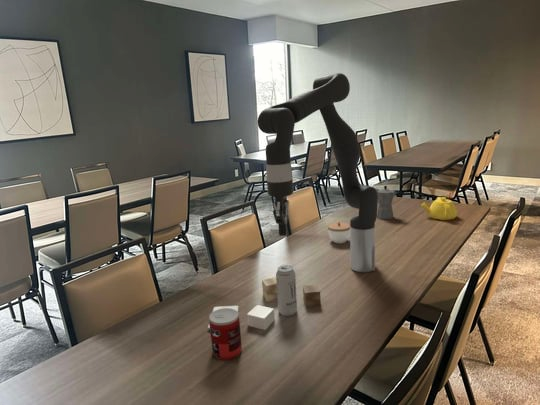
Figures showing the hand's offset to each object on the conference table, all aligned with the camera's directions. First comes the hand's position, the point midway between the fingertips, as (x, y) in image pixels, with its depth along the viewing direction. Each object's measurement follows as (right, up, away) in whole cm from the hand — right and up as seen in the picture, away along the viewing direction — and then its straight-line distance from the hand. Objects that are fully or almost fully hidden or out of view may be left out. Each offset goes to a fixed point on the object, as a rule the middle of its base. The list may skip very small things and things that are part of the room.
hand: (283, 234), depth 115 cm
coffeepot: (+60, +2, +100) cm, 116 cm away
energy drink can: (+2, -25, +6) cm, 26 cm away
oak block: (-3, -23, +16) cm, 29 cm away
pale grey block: (-7, -27, +1) cm, 28 cm away
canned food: (-16, -31, -12) cm, 37 cm away
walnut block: (+10, -23, +12) cm, 28 cm away
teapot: (+88, +2, +93) cm, 128 cm away
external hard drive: (-18, -28, +5) cm, 34 cm away
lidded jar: (+29, -9, +66) cm, 73 cm away
